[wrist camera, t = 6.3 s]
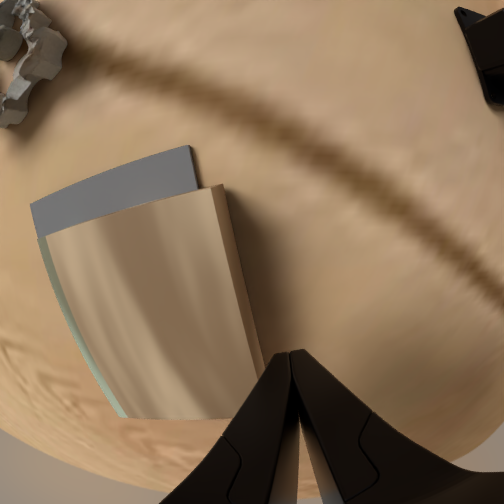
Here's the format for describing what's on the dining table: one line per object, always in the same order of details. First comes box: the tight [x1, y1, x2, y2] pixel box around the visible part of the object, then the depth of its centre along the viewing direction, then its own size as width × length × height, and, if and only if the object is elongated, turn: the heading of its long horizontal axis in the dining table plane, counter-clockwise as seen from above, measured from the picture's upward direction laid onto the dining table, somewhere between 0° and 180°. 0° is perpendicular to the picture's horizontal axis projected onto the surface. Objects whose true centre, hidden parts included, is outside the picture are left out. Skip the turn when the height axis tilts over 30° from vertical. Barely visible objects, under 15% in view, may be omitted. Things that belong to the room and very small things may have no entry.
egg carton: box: [0, 0, 67, 128], centre depth 8 cm, size 11×8×4 cm
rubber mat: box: [30, 145, 199, 239], centre depth 14 cm, size 10×14×1 cm
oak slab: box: [37, 184, 265, 420], centre depth 12 cm, size 3×10×8 cm
